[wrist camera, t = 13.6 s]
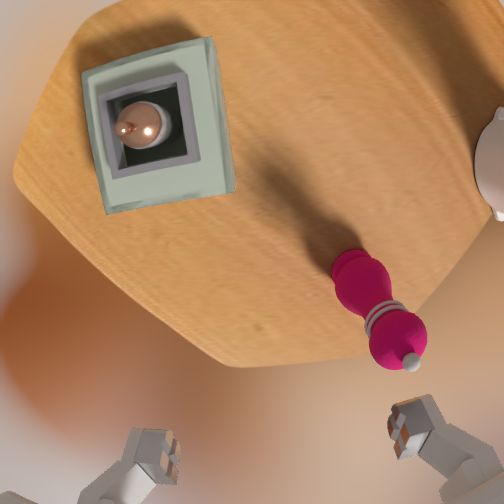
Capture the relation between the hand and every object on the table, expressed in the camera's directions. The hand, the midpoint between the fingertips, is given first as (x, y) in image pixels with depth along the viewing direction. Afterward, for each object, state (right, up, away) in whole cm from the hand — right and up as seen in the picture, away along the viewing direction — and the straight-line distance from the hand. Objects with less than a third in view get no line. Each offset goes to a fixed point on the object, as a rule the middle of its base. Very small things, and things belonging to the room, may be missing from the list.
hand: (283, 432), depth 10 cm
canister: (-11, +21, +23) cm, 33 cm away
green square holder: (-11, +21, +24) cm, 34 cm away
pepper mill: (+13, +4, +32) cm, 35 cm away
